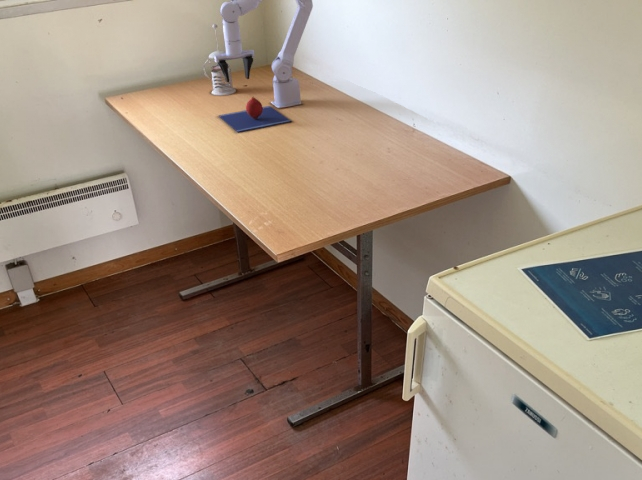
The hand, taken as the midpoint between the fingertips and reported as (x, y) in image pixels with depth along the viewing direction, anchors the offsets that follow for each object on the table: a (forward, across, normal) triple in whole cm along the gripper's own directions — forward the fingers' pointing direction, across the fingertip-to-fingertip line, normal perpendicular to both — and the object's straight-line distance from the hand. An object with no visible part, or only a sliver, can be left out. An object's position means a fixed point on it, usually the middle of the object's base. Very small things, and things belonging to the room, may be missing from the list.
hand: (237, 80), depth 240 cm
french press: (+11, -1, -25) cm, 27 cm away
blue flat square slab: (+10, 0, +14) cm, 17 cm away
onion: (+10, 0, +15) cm, 18 cm away
